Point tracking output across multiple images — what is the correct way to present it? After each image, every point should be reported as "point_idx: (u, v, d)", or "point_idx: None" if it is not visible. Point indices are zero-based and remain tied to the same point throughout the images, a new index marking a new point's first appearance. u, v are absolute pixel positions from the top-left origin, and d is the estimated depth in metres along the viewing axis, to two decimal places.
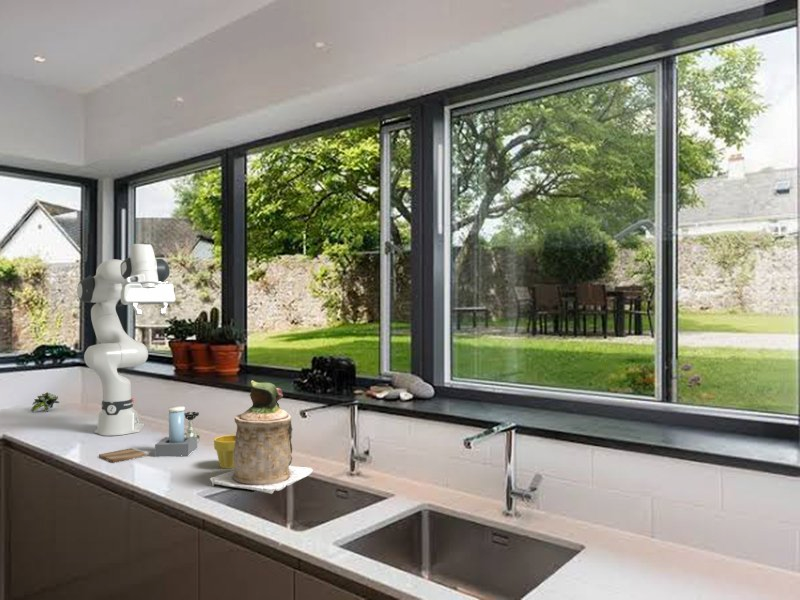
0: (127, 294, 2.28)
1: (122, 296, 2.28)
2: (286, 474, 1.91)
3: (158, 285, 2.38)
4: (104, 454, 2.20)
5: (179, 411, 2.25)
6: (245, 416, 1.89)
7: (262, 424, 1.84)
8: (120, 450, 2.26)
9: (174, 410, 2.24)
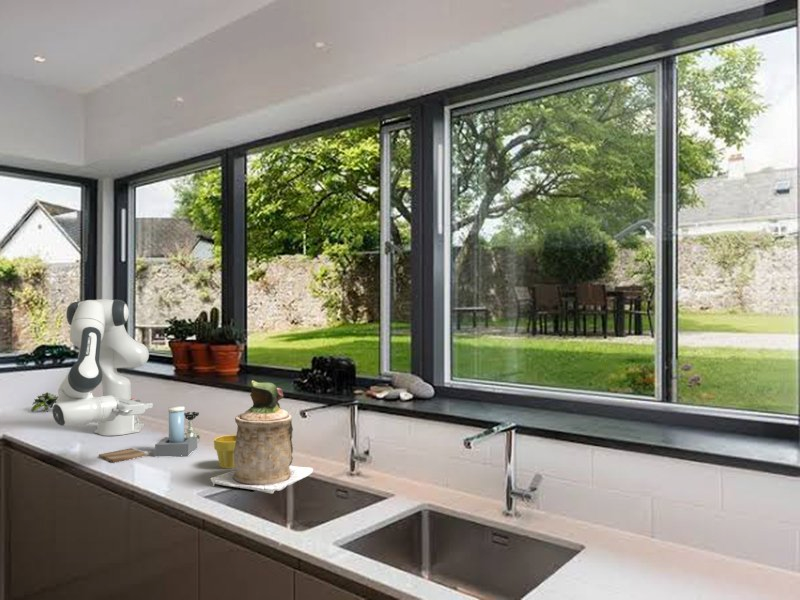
0: None
1: None
2: (287, 474, 1.91)
3: (118, 413, 2.07)
4: (104, 454, 2.20)
5: (179, 411, 2.25)
6: (246, 416, 1.89)
7: (262, 424, 1.84)
8: (120, 450, 2.26)
9: (174, 410, 2.24)
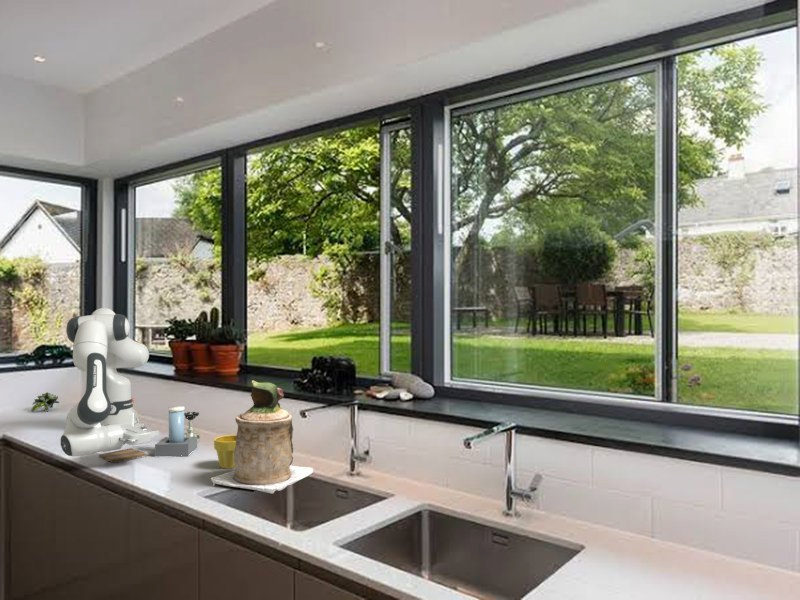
0: None
1: None
2: (287, 474, 1.91)
3: (124, 442, 2.09)
4: (104, 454, 2.20)
5: (179, 411, 2.25)
6: (246, 416, 1.89)
7: (263, 424, 1.84)
8: (120, 450, 2.26)
9: (174, 410, 2.24)
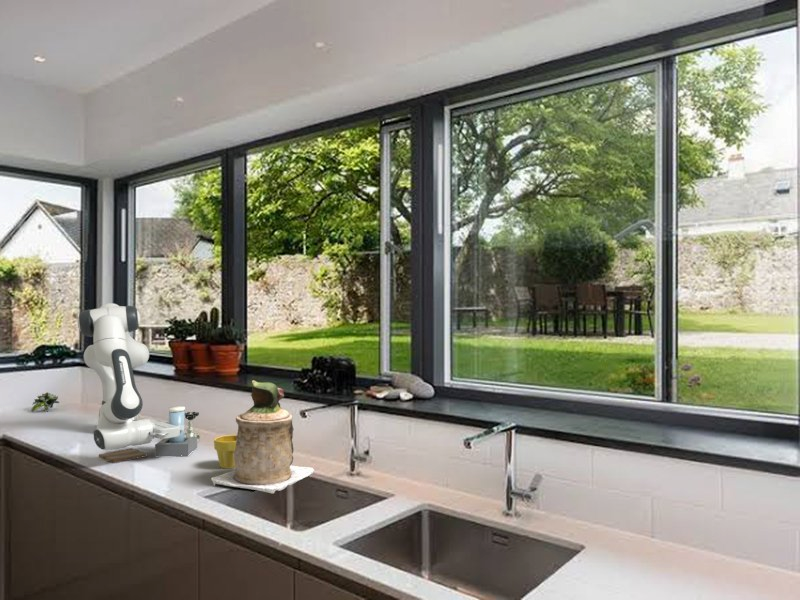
0: None
1: None
2: (287, 474, 1.91)
3: (154, 436, 2.17)
4: (104, 454, 2.20)
5: (179, 411, 2.25)
6: (246, 416, 1.89)
7: (263, 424, 1.84)
8: (120, 450, 2.26)
9: (174, 410, 2.24)
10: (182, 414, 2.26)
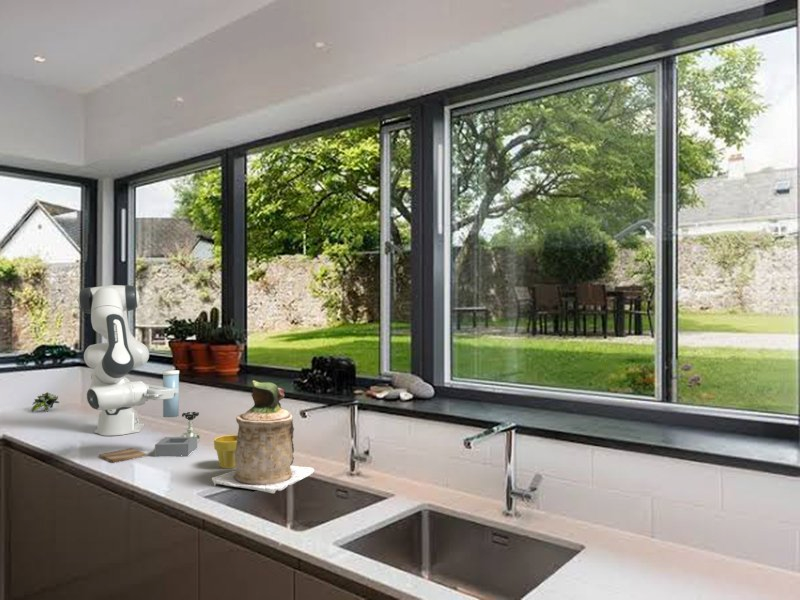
0: None
1: None
2: (288, 474, 1.91)
3: (148, 398, 2.16)
4: (104, 454, 2.20)
5: (173, 374, 2.24)
6: (247, 416, 1.89)
7: (263, 424, 1.84)
8: (120, 450, 2.26)
9: (168, 373, 2.24)
10: (176, 377, 2.26)
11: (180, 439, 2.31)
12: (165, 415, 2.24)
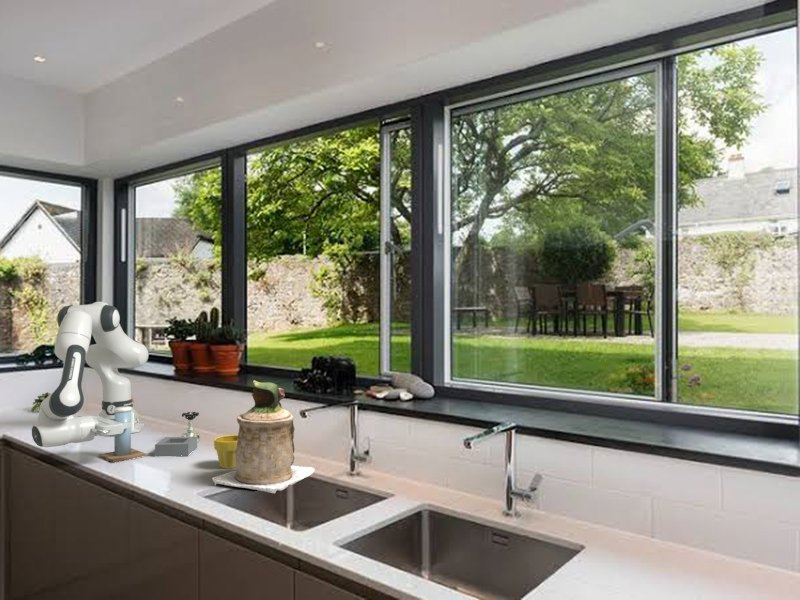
0: None
1: None
2: (288, 474, 1.91)
3: (96, 433, 2.10)
4: (104, 454, 2.20)
5: (125, 411, 2.19)
6: (247, 416, 1.89)
7: (264, 424, 1.85)
8: None
9: (120, 410, 2.18)
10: (128, 414, 2.20)
11: (180, 439, 2.31)
12: (116, 453, 2.18)
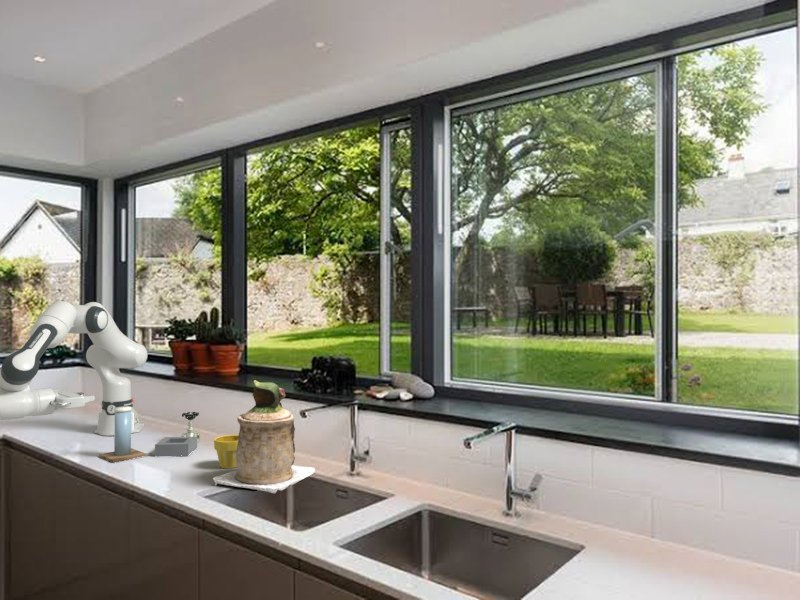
0: None
1: None
2: (289, 474, 1.91)
3: (56, 407, 2.01)
4: (104, 454, 2.20)
5: (125, 411, 2.19)
6: (248, 416, 1.89)
7: (265, 424, 1.85)
8: None
9: (120, 410, 2.18)
10: (128, 414, 2.20)
11: (180, 439, 2.31)
12: (116, 453, 2.18)
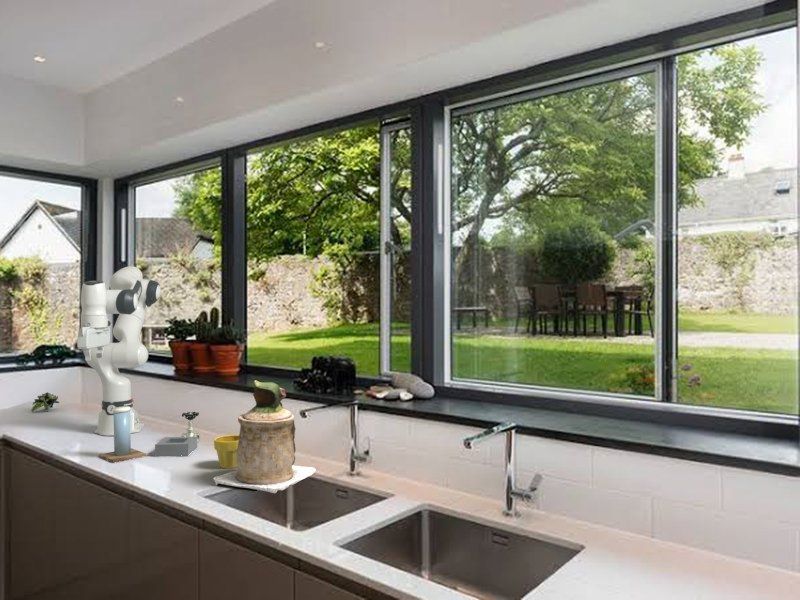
0: None
1: None
2: (289, 474, 1.91)
3: None
4: (104, 454, 2.20)
5: (124, 411, 2.19)
6: (248, 416, 1.89)
7: (265, 424, 1.85)
8: None
9: (118, 410, 2.18)
10: (127, 414, 2.20)
11: (180, 439, 2.31)
12: (116, 454, 2.18)
